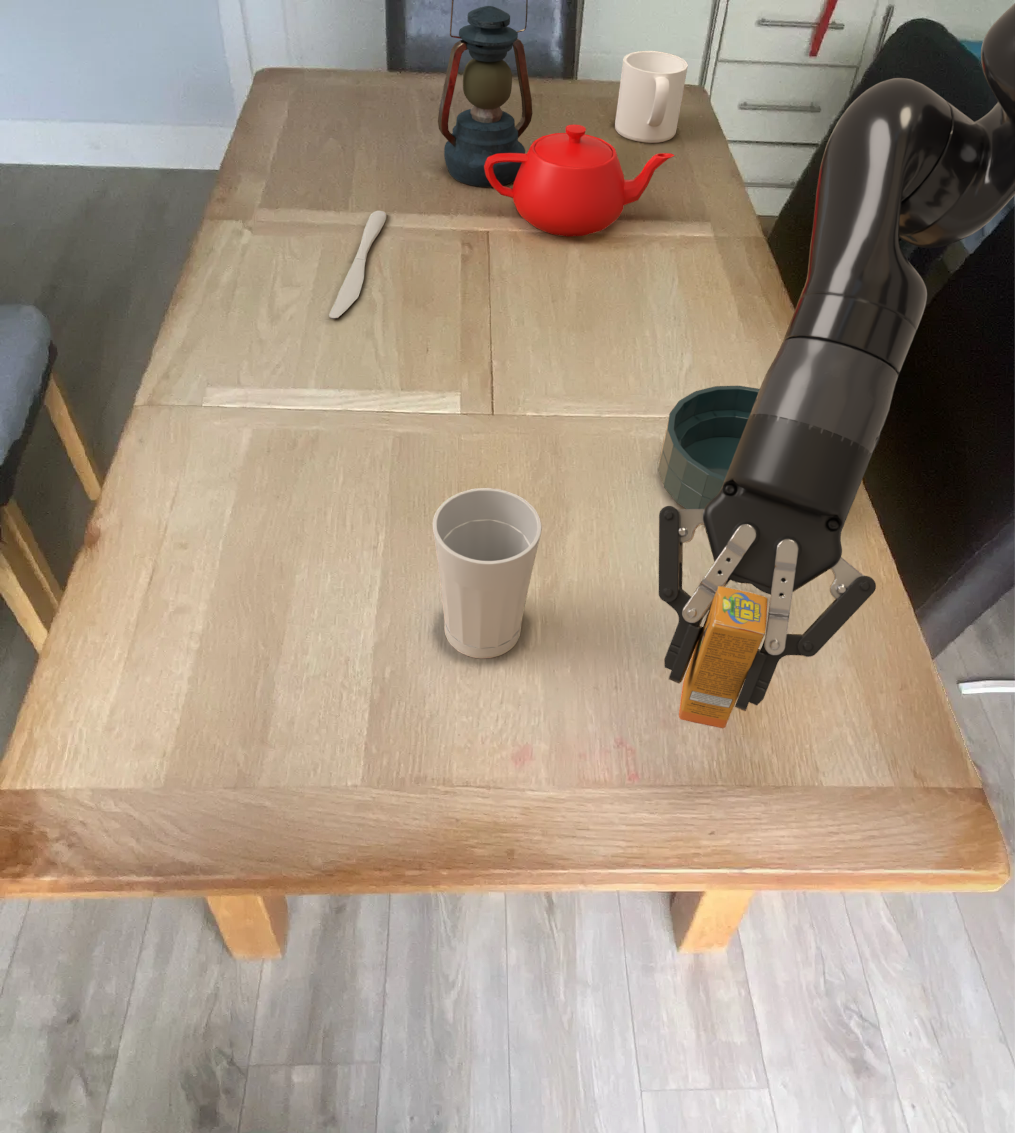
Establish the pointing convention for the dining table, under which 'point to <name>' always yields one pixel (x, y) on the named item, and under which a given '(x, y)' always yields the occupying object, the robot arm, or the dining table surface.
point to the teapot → (571, 182)
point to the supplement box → (723, 656)
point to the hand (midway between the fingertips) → (708, 692)
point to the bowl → (703, 442)
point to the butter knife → (358, 266)
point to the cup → (485, 567)
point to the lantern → (485, 98)
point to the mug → (650, 96)
